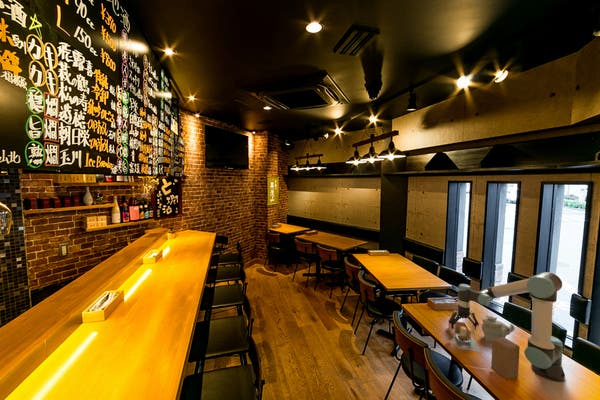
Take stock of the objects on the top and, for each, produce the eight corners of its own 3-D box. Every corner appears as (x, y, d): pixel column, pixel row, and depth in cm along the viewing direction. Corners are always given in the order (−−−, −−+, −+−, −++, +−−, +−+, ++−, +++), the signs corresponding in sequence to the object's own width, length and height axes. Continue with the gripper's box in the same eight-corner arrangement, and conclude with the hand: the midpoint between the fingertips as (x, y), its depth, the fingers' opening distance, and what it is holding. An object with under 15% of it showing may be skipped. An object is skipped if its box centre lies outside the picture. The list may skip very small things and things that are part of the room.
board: (482, 353, 177) (482, 352, 177) (456, 349, 182) (456, 348, 182) (468, 332, 203) (468, 330, 203) (446, 328, 207) (446, 327, 207)
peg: (466, 342, 188) (467, 329, 187) (460, 341, 189) (460, 328, 188) (464, 339, 191) (465, 326, 191) (458, 338, 193) (459, 325, 192)
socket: (470, 344, 185) (470, 342, 185) (458, 343, 187) (458, 340, 187) (466, 338, 193) (467, 336, 193) (454, 336, 195) (455, 334, 195)
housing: (470, 339, 191) (470, 330, 190) (452, 337, 194) (452, 328, 194) (465, 330, 202) (465, 322, 202) (448, 328, 206) (448, 320, 205)
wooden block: (506, 380, 153) (508, 348, 152) (490, 368, 162) (491, 338, 161) (518, 377, 156) (520, 345, 154) (502, 365, 165) (503, 336, 164)
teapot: (514, 344, 187) (515, 320, 185) (503, 350, 180) (504, 325, 179) (489, 333, 201) (490, 310, 200) (478, 338, 195) (479, 314, 194)
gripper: (479, 303, 191) (478, 331, 192) (443, 302, 193) (443, 329, 195) (485, 308, 183) (484, 337, 184) (448, 307, 186) (447, 335, 187)
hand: (463, 333), depth 189 cm, fingers open, 13 cm apart
